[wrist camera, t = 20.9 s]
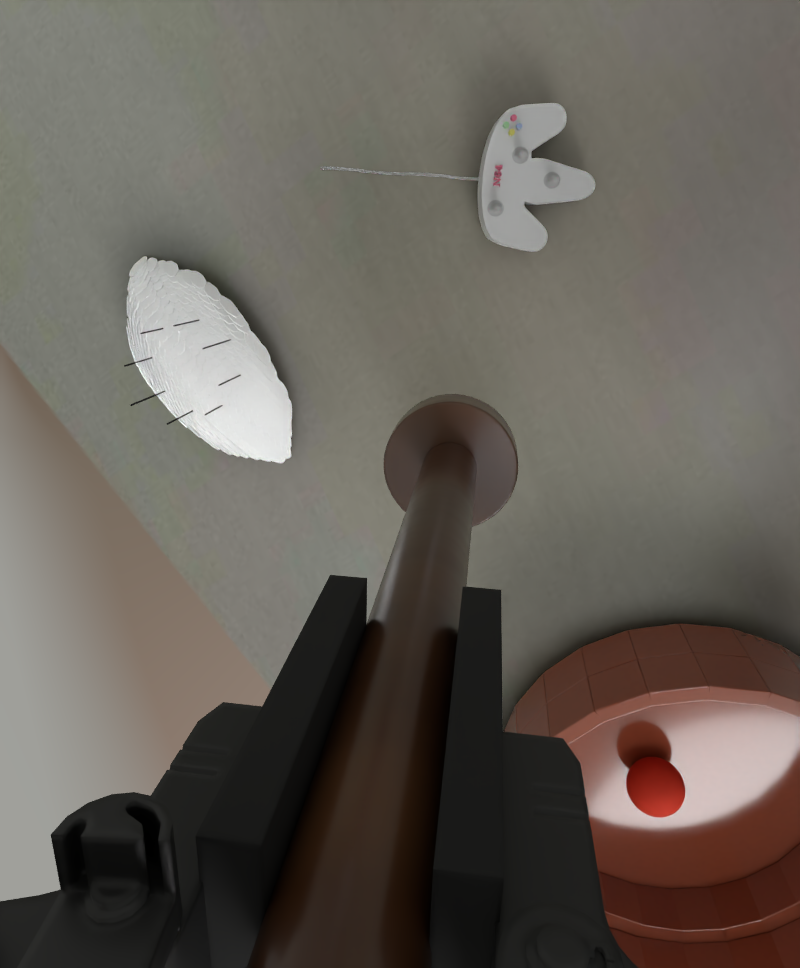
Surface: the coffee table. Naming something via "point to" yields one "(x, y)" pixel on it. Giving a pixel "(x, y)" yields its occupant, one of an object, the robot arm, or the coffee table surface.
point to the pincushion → (206, 362)
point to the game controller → (519, 176)
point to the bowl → (687, 789)
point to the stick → (393, 713)
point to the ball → (655, 787)
